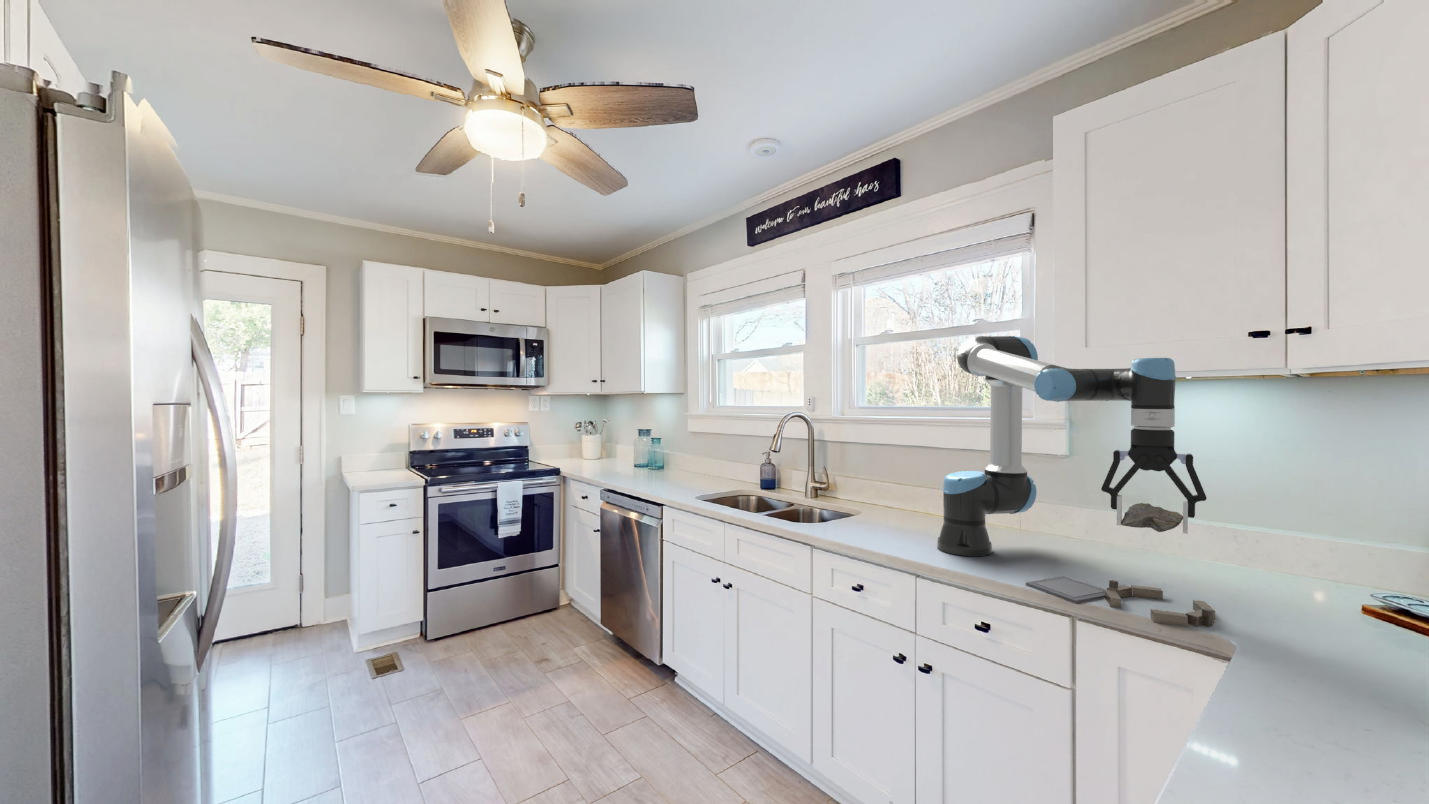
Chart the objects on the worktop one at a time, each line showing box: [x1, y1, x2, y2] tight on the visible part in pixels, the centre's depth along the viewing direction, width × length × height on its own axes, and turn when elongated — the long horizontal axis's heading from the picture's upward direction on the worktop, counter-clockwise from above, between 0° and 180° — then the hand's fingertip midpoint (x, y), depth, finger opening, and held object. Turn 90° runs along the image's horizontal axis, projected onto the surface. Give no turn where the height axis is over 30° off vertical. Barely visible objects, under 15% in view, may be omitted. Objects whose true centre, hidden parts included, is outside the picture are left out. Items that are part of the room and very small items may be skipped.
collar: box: [1104, 579, 1216, 628], centre depth 121 cm, size 20×17×3 cm
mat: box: [1025, 575, 1106, 604], centre depth 133 cm, size 13×13×1 cm
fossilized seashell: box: [1120, 502, 1183, 533], centre depth 122 cm, size 11×11×7 cm
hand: (1151, 528), depth 122 cm, fingers closed on fossilized seashell, 11 cm apart
